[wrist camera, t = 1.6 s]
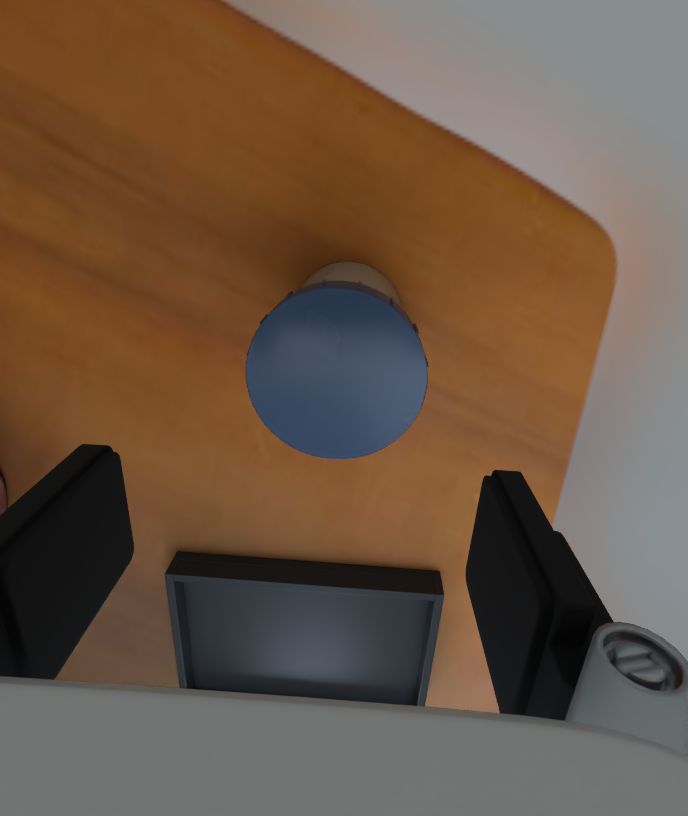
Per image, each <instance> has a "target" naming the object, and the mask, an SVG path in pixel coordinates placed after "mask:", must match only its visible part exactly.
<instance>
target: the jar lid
mask: <svg viewBox="0 0 688 816" xmlns="http://www.w3.org/2000/svg"><path fill="white" fill-rule="evenodd" d="M260 324H261V325H260V327H259V328H258V330H257V331H256V333H255V335H254V337H253V339H252V341H251V345H250V348H249V351H248V353H247V361H246V381H247V388H248V392H249V396H250V399H251V401H252V404H253V406H254V408H255V410H256V412H257V414H258V415H259V417H260V418H261V420H262V421H263V422H264V424H265V425H266V426H267V427H268V428H269V430H270V431H271V432H272V433H273V434H274V435H276V436H277V437H278V438H279V439H280V440H282V441H283V442H285V443H286V444H288V445H289V446H291V447H293V448H295V449H297V450H299V451H301V452H304V453H306V454H309V455H312V456H316V457H320V458H327V459H351V458H357V457H362V456H366V455H369V454H371V453H374V452H377V451H379V450H381V449H383V448H385V447H386V446H388V445H389V444H391V443H392V442H394V441H395V440H396V439H398V438H399V437H400V436H401V435H402V434H403V433H404V432H405V431H406V430H407V429H408V428H409V427H410V425H411V424H412V422H413V421H414V420H415V418H416V417H417V415H418V413H419V411H420V409H421V407H422V404H423V401H424V398H425V394H426V389H427V378H428V372H427V367H429V366H428V362H427V359H426V356H425V354H424V350H423V347H422V344H421V341H420V338H419V336H418V333H419V332H418V329H417V326H416V324H415V323H414V324H413V323H412V321H411V319H410V318H409V317H408V315H407V314H406V313H405V311H404V310H403V309H402V308H401V307H400V306H399V305H398V304H397V303H396V302H395V301H394V298H393V297H391V298H389V297H388V296H387V295H385V294H383V293H382V292H380V291H378V290H377V289H374V288H372V287H369V286H367V285H364V284H362V282H360V281H359V283H356V282H350V281H326V279H324V280H323V281H322V282H318V283H315V284H311V285H308V286H306V287H303V288H301V289H299V290H297V291H295V292H292V291H291V292H290V293H289V294H288V295H287V296H286V298H285V299H283V300H282V301H281V302H280V303H279V304H278V305H277V306H276V307H275V308H274V309H273V310H272V311H271V313H270V314H269V315H268V314H267V315H266V316H265V317H264V318H263V319H262V320H261V322H260Z"/></svg>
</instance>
